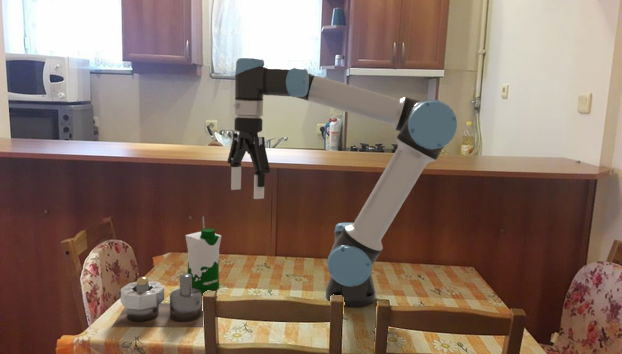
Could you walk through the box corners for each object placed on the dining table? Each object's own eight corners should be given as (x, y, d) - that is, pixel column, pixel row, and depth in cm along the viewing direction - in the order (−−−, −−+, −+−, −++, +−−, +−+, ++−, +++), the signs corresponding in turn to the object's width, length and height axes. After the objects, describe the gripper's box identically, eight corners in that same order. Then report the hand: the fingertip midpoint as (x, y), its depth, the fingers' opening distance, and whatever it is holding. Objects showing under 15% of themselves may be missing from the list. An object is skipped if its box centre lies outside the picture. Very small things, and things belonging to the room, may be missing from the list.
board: (127, 308, 134) (127, 302, 134) (215, 308, 136) (215, 303, 136) (111, 332, 120) (111, 326, 120) (209, 332, 122) (209, 326, 122)
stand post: (173, 308, 131) (173, 270, 130) (203, 308, 132) (203, 270, 130) (167, 322, 124) (166, 281, 122) (198, 322, 124) (199, 281, 123)
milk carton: (200, 300, 141) (201, 234, 138) (181, 291, 146) (181, 228, 143) (223, 292, 148) (224, 228, 144) (205, 283, 153) (205, 222, 150)
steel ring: (118, 297, 127) (117, 285, 127) (156, 290, 133) (155, 278, 133) (128, 312, 119) (127, 299, 119) (168, 303, 125) (168, 291, 124)
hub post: (131, 308, 130) (130, 271, 129) (161, 308, 131) (161, 271, 129) (122, 322, 123) (121, 283, 121) (155, 322, 123) (154, 283, 122)
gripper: (216, 114, 138) (215, 186, 142) (258, 119, 118) (256, 204, 122) (240, 114, 143) (238, 184, 146) (284, 119, 123) (282, 201, 126)
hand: (246, 193), depth 134 cm, fingers open, 13 cm apart
